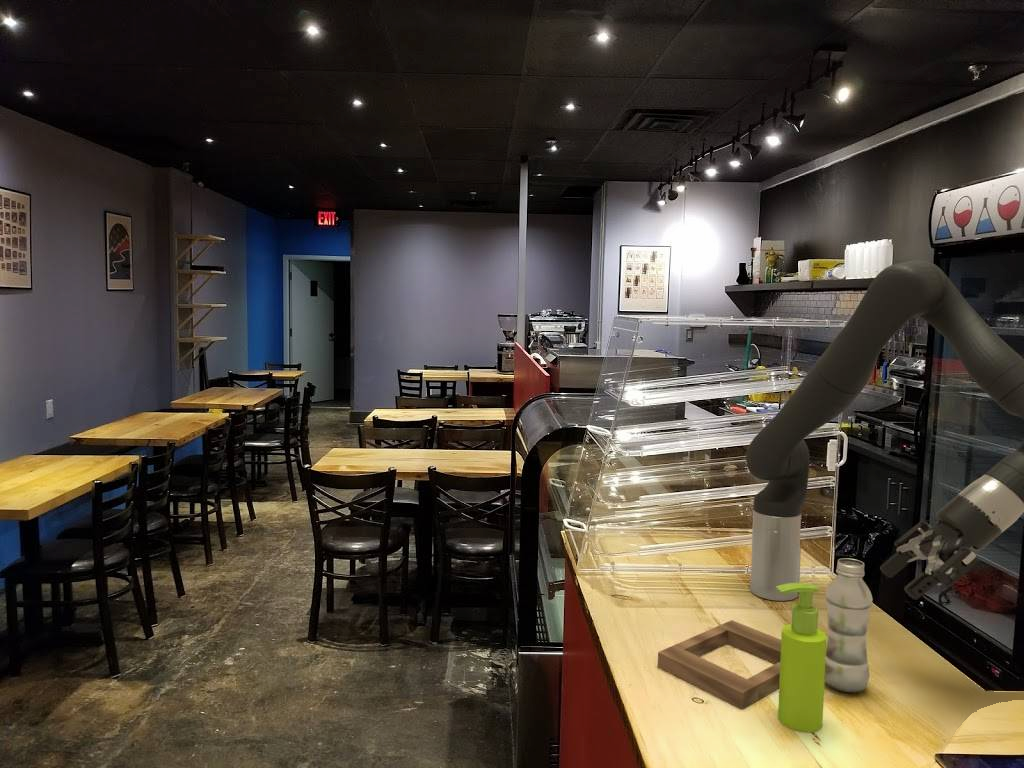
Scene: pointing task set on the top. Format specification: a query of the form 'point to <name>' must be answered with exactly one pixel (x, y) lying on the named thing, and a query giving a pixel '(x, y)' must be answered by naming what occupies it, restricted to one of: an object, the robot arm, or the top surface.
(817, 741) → the top surface
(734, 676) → the brown wooden picture frame
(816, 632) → the soap dispenser
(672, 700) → the top surface
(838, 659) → the plastic bottle
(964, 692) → the top surface
